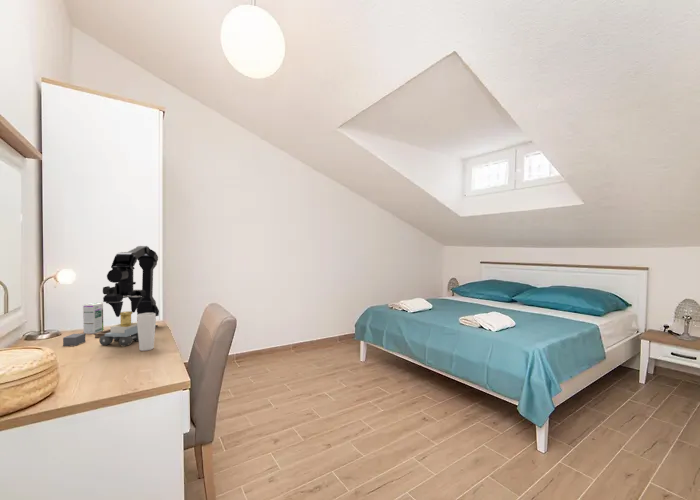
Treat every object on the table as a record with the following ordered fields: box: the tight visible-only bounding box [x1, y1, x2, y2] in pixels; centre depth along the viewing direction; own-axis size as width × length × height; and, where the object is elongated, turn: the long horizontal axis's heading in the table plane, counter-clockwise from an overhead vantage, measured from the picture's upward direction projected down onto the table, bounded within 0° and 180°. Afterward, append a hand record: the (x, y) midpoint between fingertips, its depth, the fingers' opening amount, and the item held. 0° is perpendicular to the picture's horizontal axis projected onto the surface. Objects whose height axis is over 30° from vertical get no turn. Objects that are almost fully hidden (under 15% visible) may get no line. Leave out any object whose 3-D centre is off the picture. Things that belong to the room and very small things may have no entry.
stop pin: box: [120, 310, 133, 327], centre depth 147 cm, size 5×5×8 cm
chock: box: [62, 333, 86, 347], centre depth 144 cm, size 6×5×4 cm
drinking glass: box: [136, 313, 157, 352], centre depth 137 cm, size 7×7×15 cm
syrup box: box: [82, 302, 104, 335], centre depth 162 cm, size 6×6×14 cm
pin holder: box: [94, 329, 111, 339], centre depth 156 cm, size 8×8×2 cm
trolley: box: [98, 326, 139, 347], centre depth 146 cm, size 10×13×7 cm
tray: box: [110, 322, 137, 333], centre depth 147 cm, size 8×8×3 cm
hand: (125, 314), depth 146 cm, fingers open, 9 cm apart
